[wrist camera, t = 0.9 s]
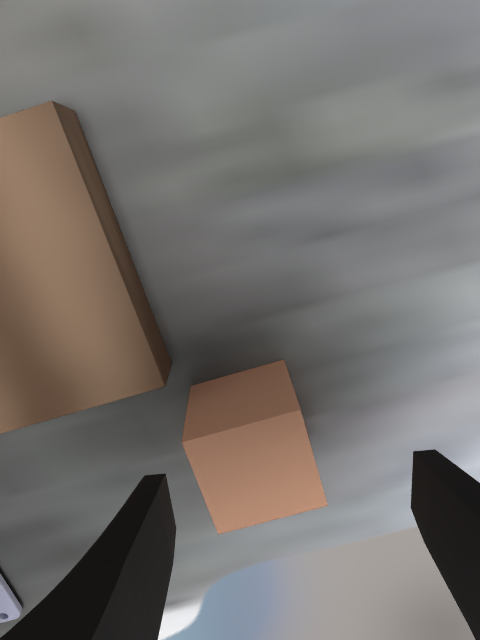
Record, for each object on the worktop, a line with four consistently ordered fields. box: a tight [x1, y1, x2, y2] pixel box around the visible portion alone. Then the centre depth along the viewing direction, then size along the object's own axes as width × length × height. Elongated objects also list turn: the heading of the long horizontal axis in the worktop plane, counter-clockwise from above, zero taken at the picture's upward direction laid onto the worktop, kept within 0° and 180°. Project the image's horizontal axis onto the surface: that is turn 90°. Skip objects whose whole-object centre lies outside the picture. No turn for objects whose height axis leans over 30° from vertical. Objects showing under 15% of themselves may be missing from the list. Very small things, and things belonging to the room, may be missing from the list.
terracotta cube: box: [182, 360, 328, 534], centre depth 20 cm, size 5×5×5 cm
